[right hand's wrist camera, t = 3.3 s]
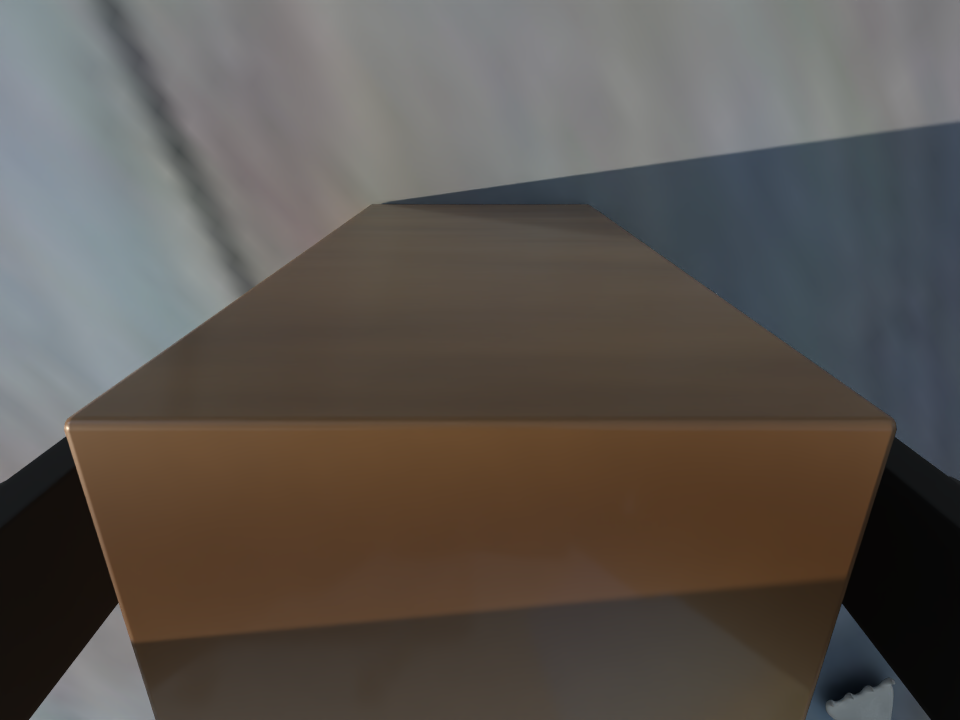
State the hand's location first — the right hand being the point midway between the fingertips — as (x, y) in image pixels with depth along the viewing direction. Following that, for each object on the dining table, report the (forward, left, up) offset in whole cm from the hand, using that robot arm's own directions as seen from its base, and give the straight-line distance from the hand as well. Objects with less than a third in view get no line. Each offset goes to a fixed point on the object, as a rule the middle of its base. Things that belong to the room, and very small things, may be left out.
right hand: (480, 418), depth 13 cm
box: (+6, +6, -5) cm, 10 cm away
